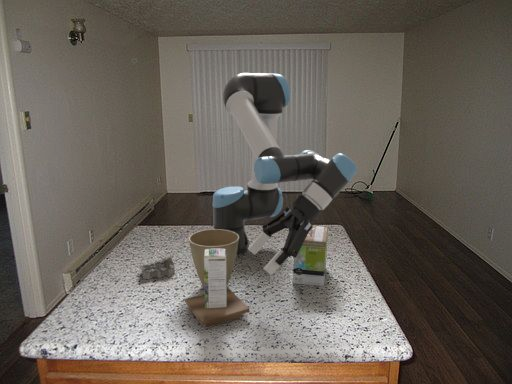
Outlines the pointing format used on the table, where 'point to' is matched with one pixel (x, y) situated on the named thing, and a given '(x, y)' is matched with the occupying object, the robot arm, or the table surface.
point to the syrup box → (215, 278)
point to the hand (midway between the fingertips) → (258, 261)
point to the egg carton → (164, 268)
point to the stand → (217, 310)
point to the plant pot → (210, 241)
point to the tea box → (312, 258)
